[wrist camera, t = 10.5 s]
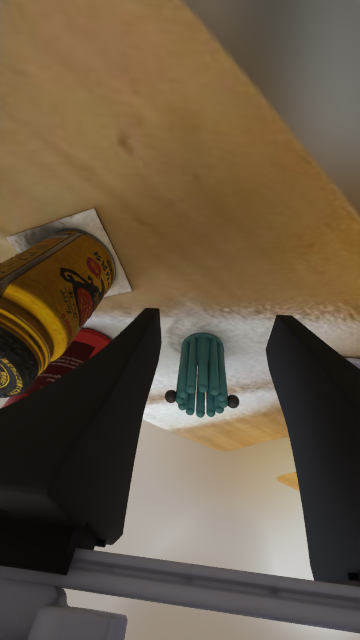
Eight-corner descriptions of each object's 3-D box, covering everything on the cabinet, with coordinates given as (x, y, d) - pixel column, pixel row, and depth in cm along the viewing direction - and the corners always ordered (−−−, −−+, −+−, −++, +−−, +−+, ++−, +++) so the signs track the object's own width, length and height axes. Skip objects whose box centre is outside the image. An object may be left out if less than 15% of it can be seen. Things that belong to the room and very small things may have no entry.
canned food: (103, 381, 30) (60, 476, 21) (48, 348, 27) (-29, 442, 18) (138, 355, 26) (103, 457, 17) (78, 314, 23) (0, 411, 14)
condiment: (133, 290, 21) (71, 405, 11) (58, 306, 23) (-48, 416, 13) (95, 207, 17) (-53, 276, 7) (9, 236, 19) (-198, 321, 9)
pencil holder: (235, 334, 23) (229, 364, 26) (172, 330, 23) (173, 360, 26) (244, 391, 17) (235, 422, 20) (162, 385, 18) (165, 416, 21)
